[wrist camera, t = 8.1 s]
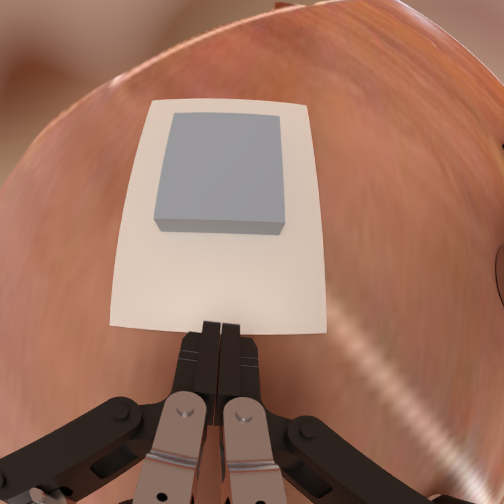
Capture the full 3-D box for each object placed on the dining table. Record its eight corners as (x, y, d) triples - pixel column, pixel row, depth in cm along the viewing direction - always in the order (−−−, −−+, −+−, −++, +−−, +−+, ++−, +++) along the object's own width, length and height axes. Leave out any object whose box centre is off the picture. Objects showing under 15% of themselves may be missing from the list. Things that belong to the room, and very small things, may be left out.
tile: (285, 222, 19) (279, 116, 22) (153, 218, 18) (174, 112, 21) (279, 235, 21) (275, 134, 24) (161, 231, 21) (177, 131, 24)
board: (324, 333, 20) (326, 332, 20) (112, 325, 19) (109, 325, 18) (305, 109, 27) (306, 105, 26) (153, 104, 25) (152, 100, 25)
